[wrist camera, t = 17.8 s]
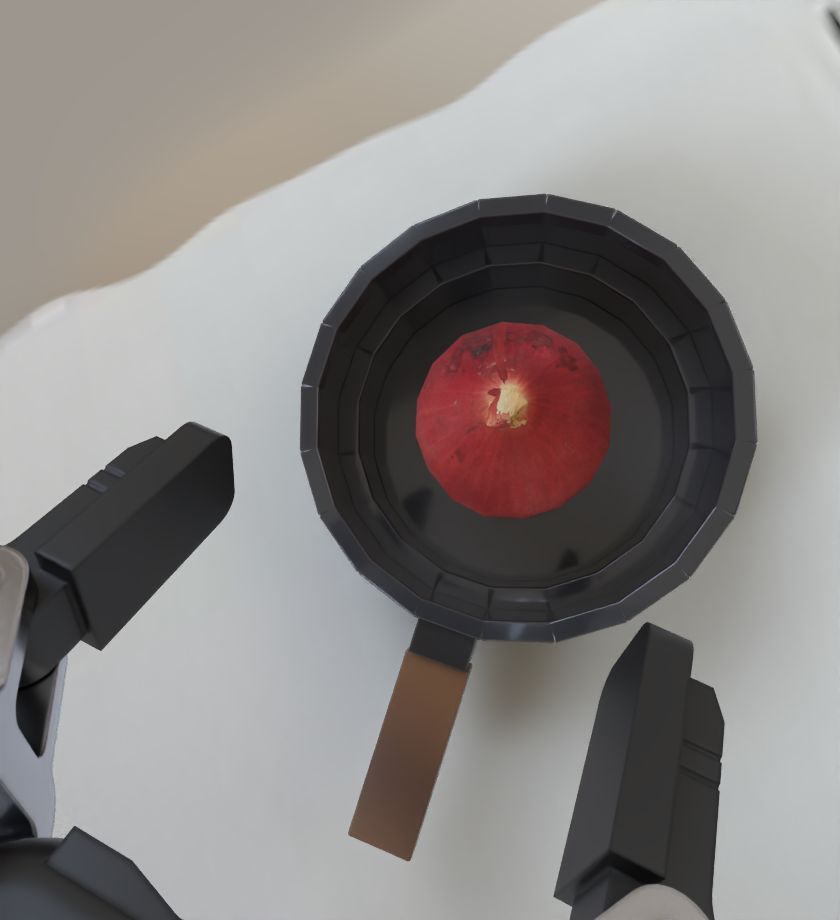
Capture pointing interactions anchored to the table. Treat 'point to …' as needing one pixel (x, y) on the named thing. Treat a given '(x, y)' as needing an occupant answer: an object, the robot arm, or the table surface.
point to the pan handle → (413, 739)
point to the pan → (631, 434)
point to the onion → (513, 420)
